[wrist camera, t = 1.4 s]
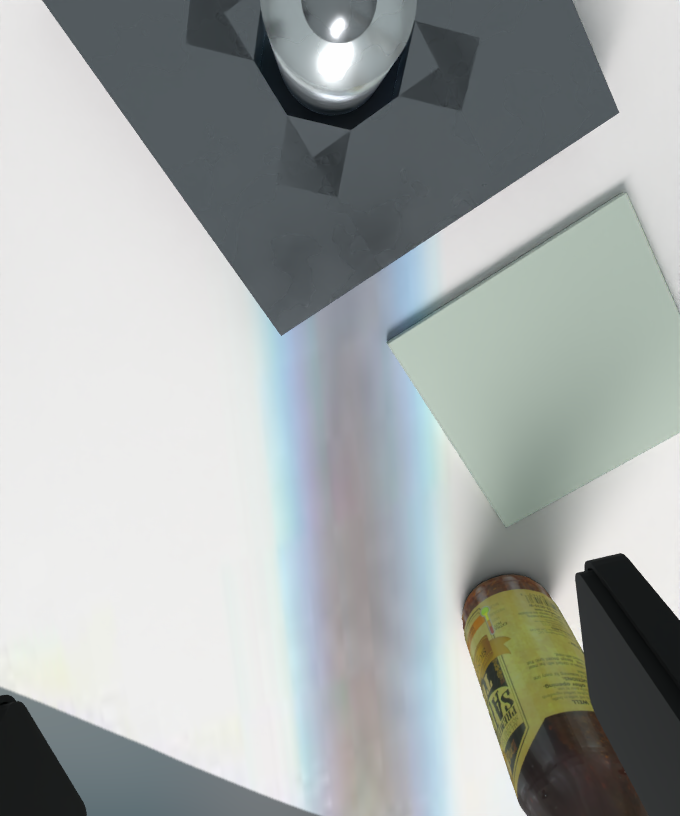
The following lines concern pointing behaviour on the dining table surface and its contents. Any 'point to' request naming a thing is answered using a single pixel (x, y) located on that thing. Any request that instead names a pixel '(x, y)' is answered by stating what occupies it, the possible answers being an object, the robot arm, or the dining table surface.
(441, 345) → the sage mat
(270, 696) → the dining table surface
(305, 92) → the aluminium plug
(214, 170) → the plate
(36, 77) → the dining table surface
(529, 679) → the sauce bottle
